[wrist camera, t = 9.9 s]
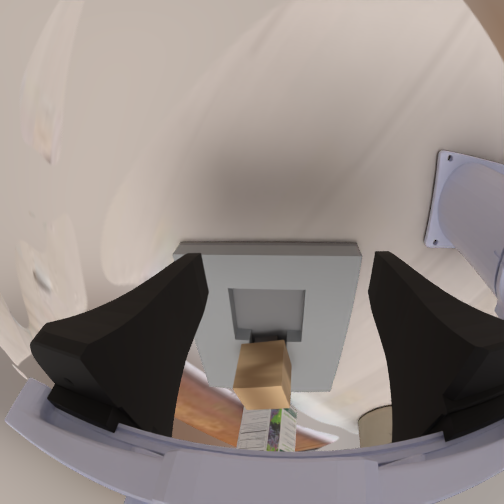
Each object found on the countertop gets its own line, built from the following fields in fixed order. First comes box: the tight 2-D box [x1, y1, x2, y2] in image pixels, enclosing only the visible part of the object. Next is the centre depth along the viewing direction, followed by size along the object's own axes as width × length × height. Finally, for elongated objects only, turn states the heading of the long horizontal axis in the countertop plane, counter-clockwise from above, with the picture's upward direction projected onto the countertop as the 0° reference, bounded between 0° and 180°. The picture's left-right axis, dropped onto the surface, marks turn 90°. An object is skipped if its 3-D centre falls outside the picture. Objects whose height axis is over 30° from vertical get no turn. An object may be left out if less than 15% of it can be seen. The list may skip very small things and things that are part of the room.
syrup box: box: [236, 406, 297, 452], centre depth 28 cm, size 6×6×14 cm
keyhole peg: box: [233, 335, 292, 410], centre depth 23 cm, size 4×4×6 cm
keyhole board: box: [173, 242, 362, 392], centre depth 25 cm, size 14×18×2 cm
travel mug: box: [358, 406, 392, 448], centre depth 26 cm, size 8×8×18 cm
